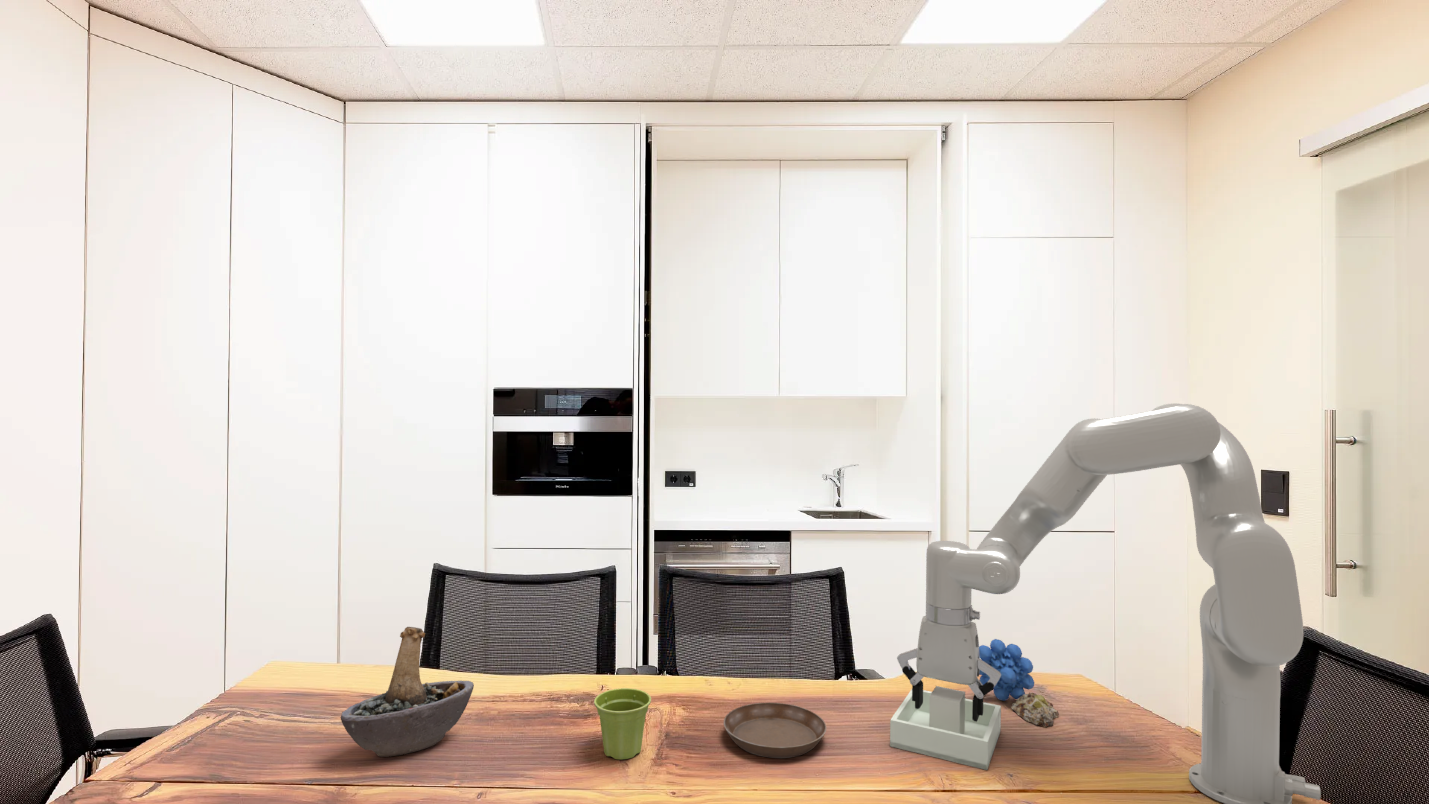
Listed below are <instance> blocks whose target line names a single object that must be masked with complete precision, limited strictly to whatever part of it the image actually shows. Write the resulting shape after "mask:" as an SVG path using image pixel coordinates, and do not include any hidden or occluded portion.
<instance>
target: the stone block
mask: <svg viewBox="0 0 1429 804" xmlns="http://www.w3.org/2000/svg"><path fill="white" fill-rule="evenodd" d="M931 692H932V693H931V694H930V706H929V727H933V728H938V729H942V730H947V731H951V732H955V733H960V734H964V732H965V699H966V691H963V690H959V689H958V690H957V689H954V688H949V687H944V686H940V685H935V687H934V689H933V690H932V691H931Z"/></svg>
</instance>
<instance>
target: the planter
mask: <svg viewBox="0 0 1429 804" xmlns="http://www.w3.org/2000/svg"><path fill="white" fill-rule="evenodd" d="M425 636H426V633H425V632H424V630H423V629H422V628H420V627H414V626H407V627H405V628H404V630H402V631H401V632H400V634H399V637H400V638H401V641H400V642H401V643H400V646H399V649H398V653H397V656H396V660H395V664H394V669H393V671H392V676H391V680H390V683H389V686H388V688H387V690H386V692H384V693H382V694H378V695H375V696H372V697H371V698H367V699H363V700H362V701H360V702H358V703H355V704H353V705H350V706H349V707H348V708H347V709H346V710H344V711H342V712H341V716H340V720H341V721H340V722H341V723H342V725H343V727H344V729H345V731H346V733H347V734H348V735H349V736H350V737H351V738H352V740H353V742H355V743H356V744H357V745H358V746H360V747H361V748H363V749H364V750H365V751H366V750H367V751H372V752H374V753H375V754H376V755H377V756H378V757H380V758H384V757H385V758H386V757H387V758H388V757H389V756H390V757H396V756H402V755H403V754H404V755H407V754H411V753H415V752H420V751H422V750H424V749H425V750H426V749H427V748H429V747H432V746H435V745H436V744H437V743H438V742H441V741H442V740H443V739H444V737H445V736H446V734H447V732H449V731H450V730H451V729H452V728H453V727H454V726H455V725H456V724H458V722H459V720H460V718H461V717H462V715H463V714H464V712H465V710H466V708H467V706H468V704H469V701H470V698H471V697H472V693H473V691H474V685H475V684H474V683H473V682H474V681H473V682H472V681H471V680H443V681H434V682H425V683H422V681H421V675H420V659H421V644H422V641H423V639H424V638H425ZM390 757H389V758H390Z"/></svg>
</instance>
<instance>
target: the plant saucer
mask: <svg viewBox="0 0 1429 804" xmlns="http://www.w3.org/2000/svg"><path fill="white" fill-rule="evenodd" d="M723 726H724V728H725V732H726V733H727V734H728V735H729V737H730V739H731V740H732V741H733V742H734V743H735V745H737V746H738V747H739V748H741V749H742V750H744V751H745V752H747V753H750V754H752V755H755V756H757V757H758V756H759V757H765V758H769V759H770V758H771V759H786V758H793V757H795V758H796V757H799V756H802V755H804V754H807V753H808V752H810V751H811V750H813V749H814V748H815V747H816V746H817V745H818V744H819V743H820V742H821V740H822V738H824V736H825V734H826V732H827V724H826V721H824V719H823V718H822V717H821V716H819V714H817V713H816V712H814V711H811V710H809V709H808V708H804V707H802V706H798V705H794V704H790V703H782V702H781V703H780V702H758V703H757V702H756V703H748V704H745V705H741V706H738V707H736V708H734V709H731V711H729V712H728V713H727V714H726V715H725V717H724V718H723Z"/></svg>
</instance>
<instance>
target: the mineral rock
mask: <svg viewBox="0 0 1429 804" xmlns="http://www.w3.org/2000/svg"><path fill="white" fill-rule="evenodd" d="M1011 705H1012V706H1011V710H1013V711H1014V712H1015V713H1016V714H1017V715H1018V716H1019V717H1021V719H1023V720H1025V722H1027V723H1031V724H1034V725H1035V726H1040V727H1043V728H1047V727H1051V726H1053V725H1054V719H1056V718H1058V717H1059V715H1060V714H1059V710H1057V709H1056V708H1054V704H1053V703H1052V702H1049V701H1048V699H1046V698H1045V696H1044V695H1042V694H1037V693H1035V692H1028V693H1025V695H1022V696H1021V697H1019V698H1018V699H1017V700H1016V699H1015V702H1013V703H1012V704H1011Z"/></svg>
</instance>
